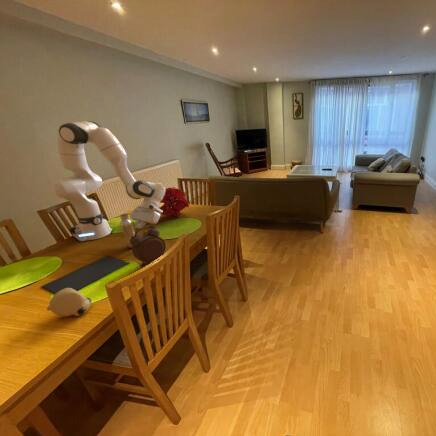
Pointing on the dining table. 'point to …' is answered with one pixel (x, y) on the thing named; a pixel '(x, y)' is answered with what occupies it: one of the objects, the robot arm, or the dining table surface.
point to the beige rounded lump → (69, 303)
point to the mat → (85, 274)
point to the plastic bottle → (127, 228)
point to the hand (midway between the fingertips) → (138, 228)
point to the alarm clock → (147, 245)
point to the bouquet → (173, 202)
